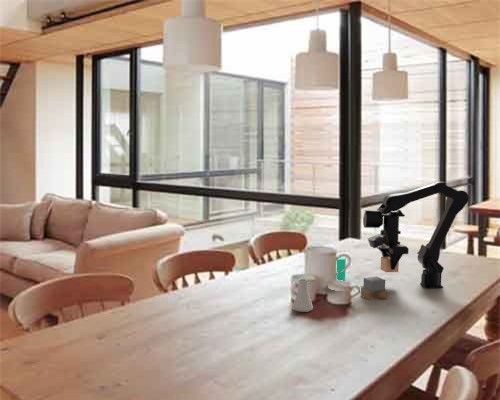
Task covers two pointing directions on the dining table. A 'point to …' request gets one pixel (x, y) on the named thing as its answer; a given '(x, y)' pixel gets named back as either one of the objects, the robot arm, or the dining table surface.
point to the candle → (341, 268)
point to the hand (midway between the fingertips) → (389, 267)
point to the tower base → (374, 294)
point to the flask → (302, 298)
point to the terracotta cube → (388, 265)
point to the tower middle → (374, 283)
